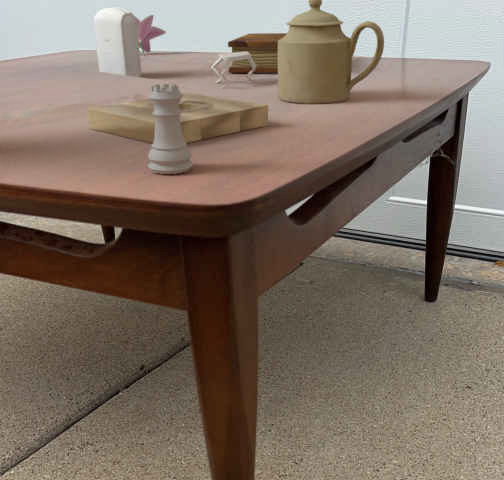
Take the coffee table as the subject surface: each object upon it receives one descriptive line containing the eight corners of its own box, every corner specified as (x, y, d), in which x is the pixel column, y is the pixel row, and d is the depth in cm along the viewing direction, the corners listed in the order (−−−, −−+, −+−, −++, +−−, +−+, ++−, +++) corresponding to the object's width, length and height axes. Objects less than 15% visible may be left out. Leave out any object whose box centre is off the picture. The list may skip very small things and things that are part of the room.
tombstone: (95, 76, 134) (88, 7, 128) (114, 73, 136) (107, 6, 131) (126, 80, 127) (119, 8, 121) (145, 78, 129) (139, 7, 124)
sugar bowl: (367, 90, 111) (372, -12, 104) (382, 102, 101) (389, -11, 94) (274, 93, 110) (274, -10, 104) (281, 105, 100) (281, -8, 94)
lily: (174, 57, 171) (164, 20, 171) (159, 41, 159) (148, 2, 160) (130, 73, 173) (120, 37, 173) (112, 59, 162) (101, 20, 162)
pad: (168, 147, 77) (166, 124, 76) (89, 128, 87) (87, 108, 86) (268, 125, 87) (268, 105, 86) (187, 110, 97) (186, 92, 96)
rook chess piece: (142, 175, 66) (135, 89, 63) (155, 163, 70) (148, 82, 67) (187, 176, 66) (182, 89, 62) (197, 164, 70) (193, 82, 66)
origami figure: (212, 79, 126) (211, 51, 124) (258, 79, 125) (258, 50, 123) (205, 89, 115) (203, 58, 113) (254, 89, 115) (254, 58, 113)
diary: (325, 73, 130) (326, 41, 128) (228, 73, 133) (227, 42, 131) (333, 59, 151) (334, 31, 148) (249, 60, 154) (249, 32, 151)
